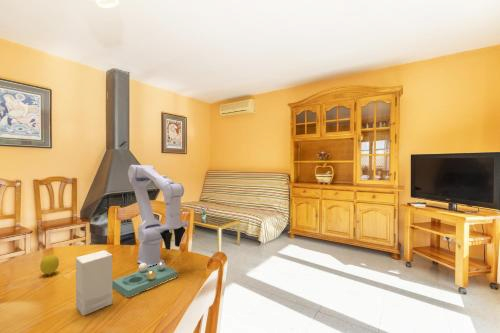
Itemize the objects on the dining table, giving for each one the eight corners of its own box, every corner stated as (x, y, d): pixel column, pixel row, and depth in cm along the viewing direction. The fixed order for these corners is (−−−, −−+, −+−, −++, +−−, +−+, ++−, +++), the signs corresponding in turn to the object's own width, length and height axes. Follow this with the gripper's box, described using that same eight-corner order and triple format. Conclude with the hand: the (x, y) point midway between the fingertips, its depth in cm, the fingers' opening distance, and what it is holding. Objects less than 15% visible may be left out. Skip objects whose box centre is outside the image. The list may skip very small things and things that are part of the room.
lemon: (48, 278, 92) (48, 257, 92) (36, 277, 93) (36, 255, 93) (62, 272, 97) (62, 252, 97) (50, 270, 98) (51, 250, 98)
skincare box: (105, 297, 80) (105, 249, 80) (113, 304, 76) (114, 254, 76) (74, 308, 74) (74, 256, 74) (82, 317, 70) (82, 262, 69)
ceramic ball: (136, 271, 93) (136, 263, 93) (144, 268, 96) (144, 260, 96) (141, 274, 92) (141, 265, 91) (149, 271, 94) (149, 262, 94)
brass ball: (143, 279, 87) (145, 270, 87) (152, 277, 89) (153, 268, 90) (148, 282, 85) (150, 272, 85) (157, 280, 87) (158, 271, 88)
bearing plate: (160, 269, 101) (161, 263, 101) (177, 277, 95) (177, 271, 95) (112, 287, 86) (112, 280, 86) (128, 298, 80) (128, 290, 80)
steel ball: (155, 270, 95) (155, 262, 95) (162, 267, 97) (162, 259, 97) (159, 272, 93) (160, 264, 93) (167, 269, 95) (167, 261, 95)
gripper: (162, 218, 91) (162, 255, 91) (194, 212, 102) (193, 245, 102) (152, 215, 95) (151, 250, 95) (183, 210, 107) (182, 241, 107)
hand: (172, 247), depth 99 cm, fingers open, 4 cm apart
